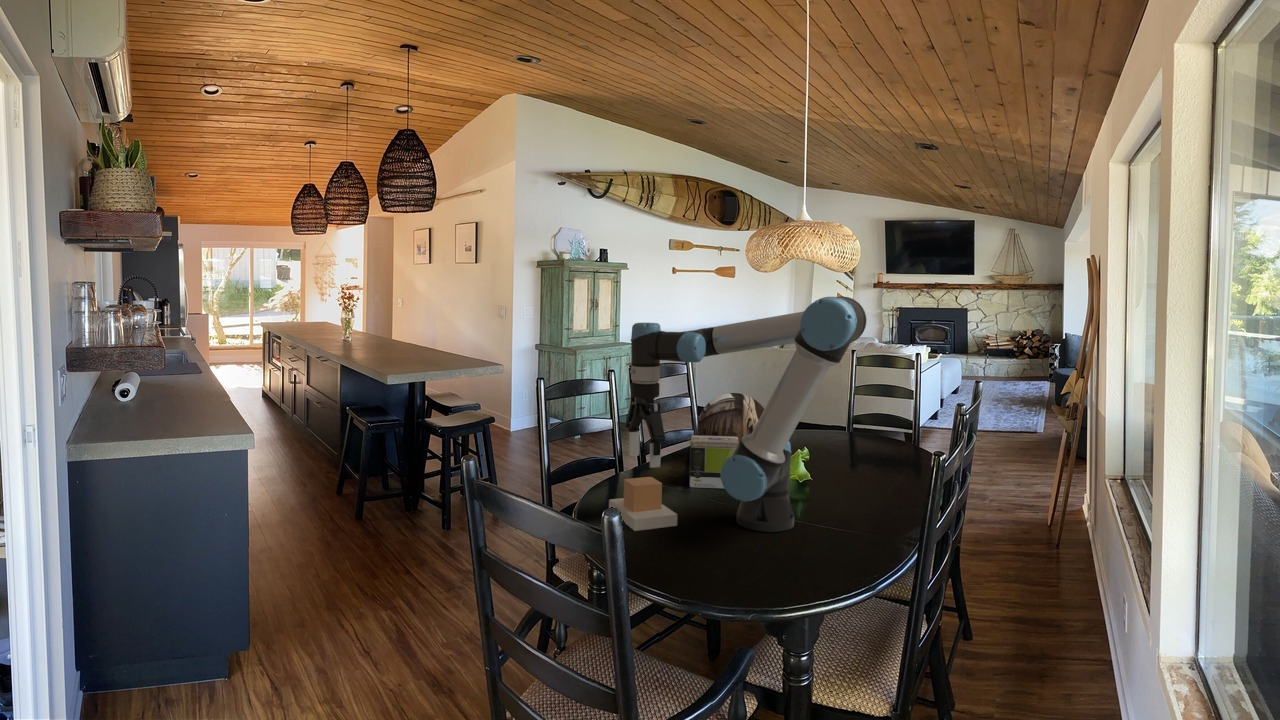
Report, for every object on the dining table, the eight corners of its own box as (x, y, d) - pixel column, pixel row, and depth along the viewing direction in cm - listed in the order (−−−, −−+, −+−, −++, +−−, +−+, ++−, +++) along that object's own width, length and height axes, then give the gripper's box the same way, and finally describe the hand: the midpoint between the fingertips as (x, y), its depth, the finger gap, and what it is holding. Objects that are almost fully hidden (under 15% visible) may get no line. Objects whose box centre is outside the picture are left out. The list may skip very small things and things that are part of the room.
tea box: (737, 481, 243) (739, 435, 241) (738, 490, 233) (740, 442, 231) (689, 479, 244) (691, 433, 242) (688, 488, 234) (690, 440, 232)
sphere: (774, 475, 250) (777, 400, 247) (698, 473, 251) (700, 398, 248) (763, 457, 275) (766, 388, 272) (694, 455, 275) (696, 386, 273)
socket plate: (677, 525, 199) (677, 514, 199) (634, 530, 194) (634, 519, 194) (648, 505, 215) (648, 495, 215) (608, 510, 210) (609, 499, 210)
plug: (661, 520, 203) (662, 483, 202) (633, 523, 200) (634, 486, 199) (650, 512, 209) (651, 476, 208) (623, 515, 206) (623, 479, 205)
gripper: (614, 376, 210) (613, 452, 213) (651, 389, 188) (650, 473, 190) (639, 375, 213) (638, 450, 216) (679, 387, 191) (677, 470, 193)
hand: (644, 461), depth 203 cm, fingers open, 13 cm apart
